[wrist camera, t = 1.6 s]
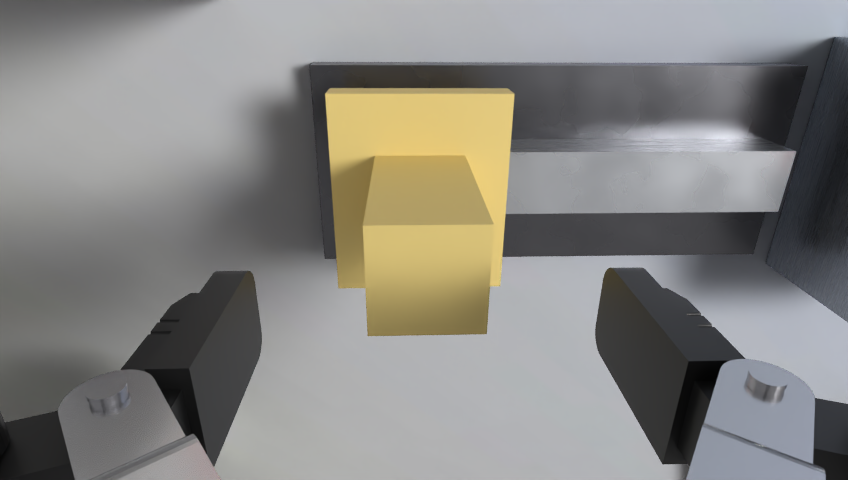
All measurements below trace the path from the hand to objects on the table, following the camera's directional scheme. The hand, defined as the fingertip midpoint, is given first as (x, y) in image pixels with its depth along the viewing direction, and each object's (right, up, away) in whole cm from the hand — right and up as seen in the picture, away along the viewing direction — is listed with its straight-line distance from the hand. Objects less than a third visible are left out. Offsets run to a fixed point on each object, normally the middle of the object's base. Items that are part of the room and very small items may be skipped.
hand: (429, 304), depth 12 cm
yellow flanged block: (0, +4, +9) cm, 10 cm away
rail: (+5, +5, +10) cm, 12 cm away
